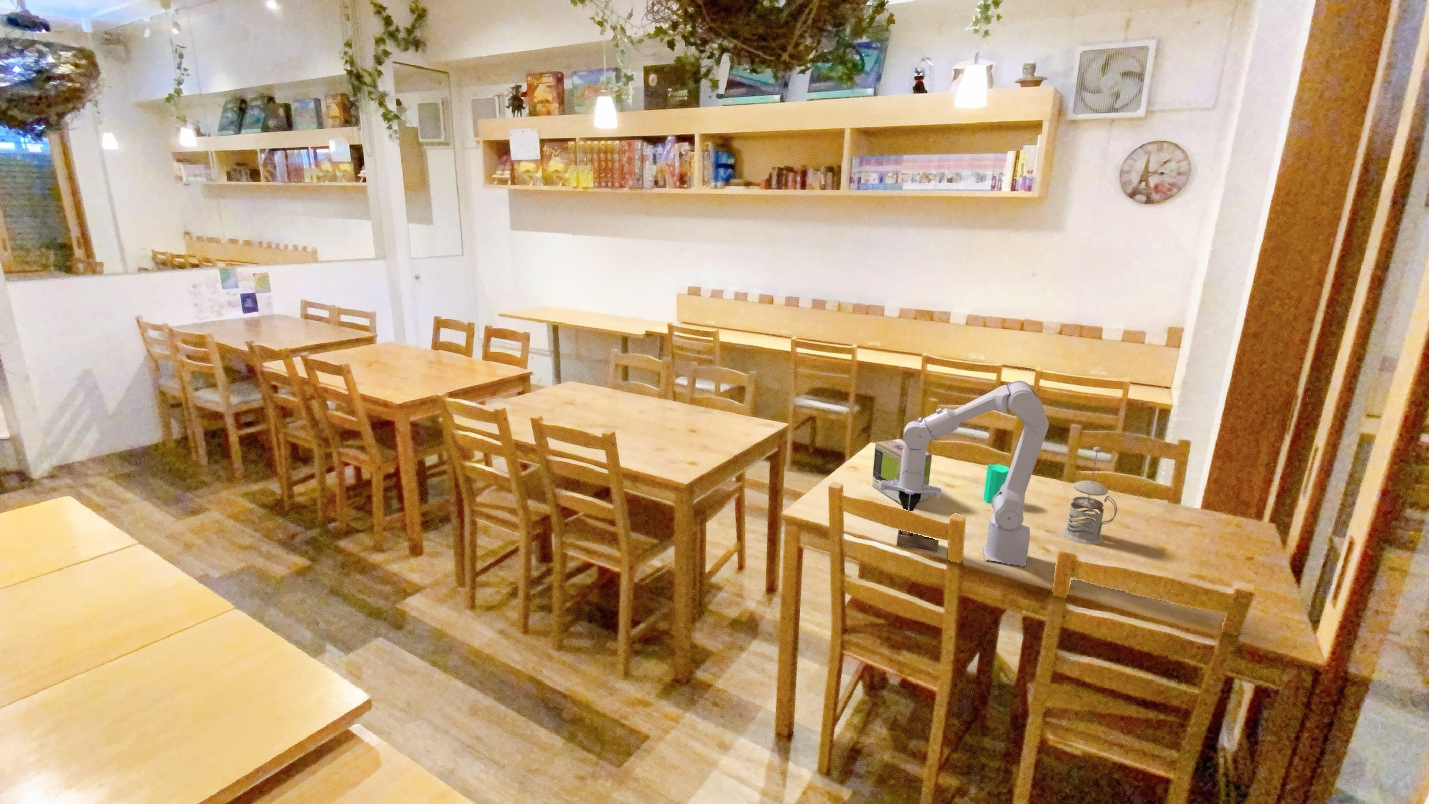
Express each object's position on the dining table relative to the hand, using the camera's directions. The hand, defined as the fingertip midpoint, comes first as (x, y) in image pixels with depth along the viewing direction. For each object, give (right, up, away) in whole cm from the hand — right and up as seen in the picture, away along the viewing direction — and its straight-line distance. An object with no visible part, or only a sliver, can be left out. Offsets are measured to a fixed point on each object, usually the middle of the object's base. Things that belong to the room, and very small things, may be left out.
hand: (907, 518), depth 176 cm
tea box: (+6, +2, +32) cm, 33 cm away
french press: (+49, -6, +7) cm, 50 cm away
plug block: (+3, -7, +1) cm, 8 cm away
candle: (+33, 0, +28) cm, 43 cm away
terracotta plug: (0, -4, +1) cm, 4 cm away
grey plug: (+6, -5, -1) cm, 7 cm away
